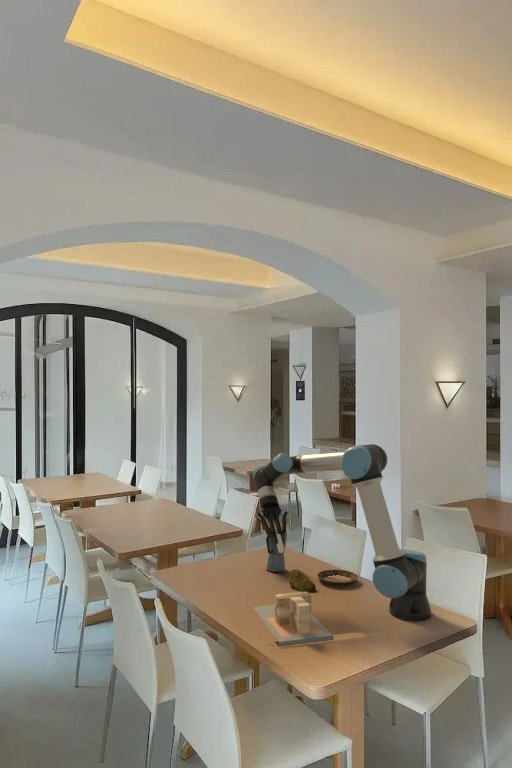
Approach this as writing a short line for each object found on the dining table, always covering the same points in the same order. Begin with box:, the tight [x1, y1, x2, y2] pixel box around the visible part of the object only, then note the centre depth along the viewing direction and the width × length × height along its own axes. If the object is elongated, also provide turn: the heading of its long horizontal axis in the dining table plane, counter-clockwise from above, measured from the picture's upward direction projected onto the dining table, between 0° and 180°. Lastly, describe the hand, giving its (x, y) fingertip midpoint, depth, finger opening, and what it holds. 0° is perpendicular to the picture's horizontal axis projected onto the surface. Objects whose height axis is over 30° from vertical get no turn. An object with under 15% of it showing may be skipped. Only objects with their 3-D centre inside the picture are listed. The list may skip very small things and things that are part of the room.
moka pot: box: [265, 529, 289, 573], centre depth 249 cm, size 10×15×20 cm, turn 148°
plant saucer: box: [316, 569, 359, 588], centre depth 234 cm, size 18×18×3 cm
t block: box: [274, 591, 312, 633], centre depth 184 cm, size 12×12×9 cm
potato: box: [287, 568, 317, 593], centre depth 222 cm, size 8×13×8 cm, turn 28°
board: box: [252, 604, 334, 647], centre depth 188 cm, size 30×19×2 cm, turn 17°
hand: (281, 550), depth 205 cm, fingers closed
